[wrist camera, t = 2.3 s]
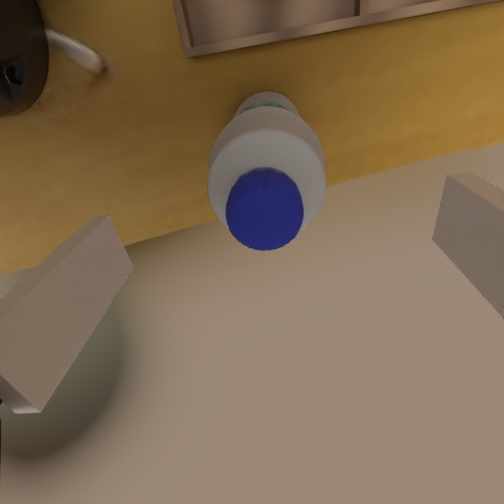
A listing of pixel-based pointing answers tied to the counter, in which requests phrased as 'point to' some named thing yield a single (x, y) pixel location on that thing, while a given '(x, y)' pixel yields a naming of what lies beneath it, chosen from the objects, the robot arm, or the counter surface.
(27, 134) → the counter surface
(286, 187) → the bottle
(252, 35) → the caddy
